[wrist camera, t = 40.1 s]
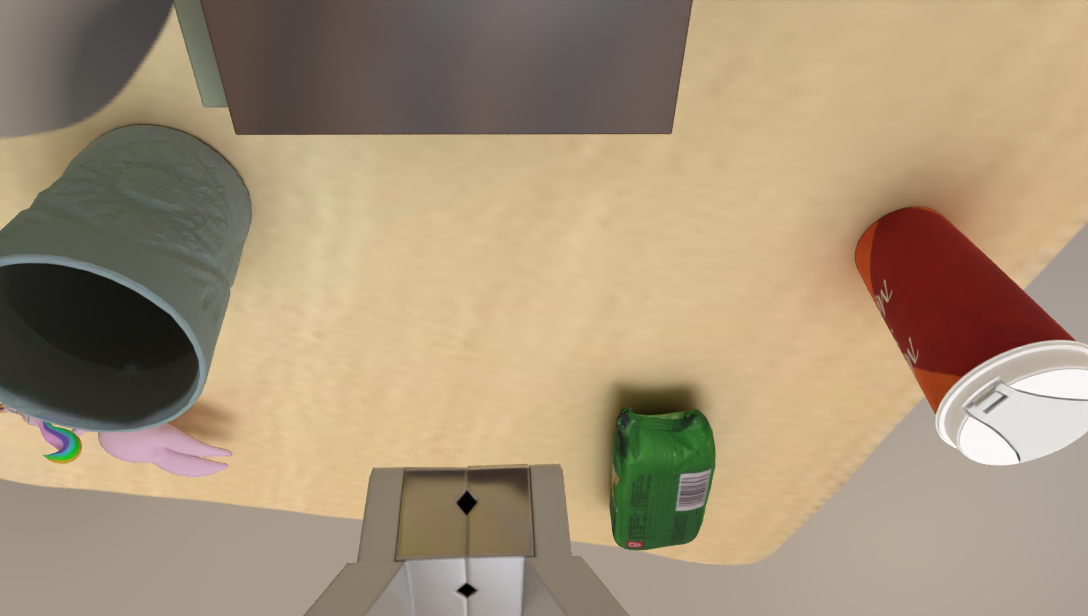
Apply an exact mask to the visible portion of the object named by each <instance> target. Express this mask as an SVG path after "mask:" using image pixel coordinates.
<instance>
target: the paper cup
mask: <svg viewBox="0 0 1088 616" xmlns="http://www.w3.org/2000/svg"><path fill="white" fill-rule="evenodd" d="M855 261H856V265H857V268H858V270H859V272H860V275H861V277H862V279H863V281H864V283H865V285H866V287H867V289H868V291H869V292H870V294H871V296H872V298H873V300H874V302H875V304H876V306H877V308H878V309H879V311H880V313H881V315H882V317H883V319H884V321H885V322H886V324H887V326H888V328H889V330H890V332H891V334H892V335H893V337H894V339H895V341H896V343H897V345H898V347H899V348H900V350H901V352H902V354H903V356H904V358H905V359H906V361H907V363H908V365H909V367H910V369H911V370H912V372H913V374H914V376H915V378H916V380H917V381H918V383H919V385H920V387H921V389H922V391H923V393H924V394H925V396H926V398H927V400H928V402H929V404H930V405H931V407H932V409H933V411H934V413H935V415H936V417H935V426H936V429H937V432H938V434H939V435H940V437H941V438H942V439H943V440H944V441H945V442H946V443H948V444H949V445H951V446H953V447H955V448H957V449H959V450H960V451H961V453H963V454H964V455H965V456H967V457H968V458H970V459H972V460H974V461H976V462H979V463H983V464H988V465H1011V464H1018V463H1019V462H1020V463H1022V462H1026V461H1029V460H1033V459H1036V458H1039V457H1042V456H1045V455H1048V454H1050V453H1053V452H1055V451H1058V450H1060V449H1062V448H1063V447H1065V446H1067V445H1069V444H1071V443H1072V442H1074V441H1075V440H1077V439H1078V438H1080V437H1081V436H1082V435H1084V434H1085V433H1086V432H1088V345H1087V344H1084V343H1081V342H1077V341H1075V339H1074V338H1072V337H1071V336H1070V335H1069V334H1068V333H1067V332H1066V331H1065V330H1064V329H1063V328H1062V327H1061V326H1060V325H1059V324H1058V323H1057V322H1055V320H1054V319H1052V318H1051V317H1050V316H1049V315H1048V314H1047V313H1046V312H1045V311H1044V310H1043V309H1042V308H1041V307H1040V306H1039V305H1038V304H1037V303H1036V302H1035V301H1033V299H1031V298H1030V297H1029V296H1028V295H1027V294H1026V293H1025V292H1024V291H1023V290H1022V289H1021V288H1020V287H1019V286H1018V285H1017V284H1016V283H1015V282H1014V281H1013V280H1011V279H1010V278H1009V277H1008V276H1007V275H1006V274H1005V273H1004V272H1003V271H1002V270H1001V269H1000V268H999V267H998V266H997V265H996V264H995V263H993V262H992V261H991V260H990V259H989V258H988V257H987V256H986V255H985V254H984V253H983V252H982V251H981V250H980V249H979V248H978V247H977V246H975V245H974V244H973V243H972V242H971V241H970V240H969V239H968V238H967V237H966V236H965V235H964V234H963V233H961V232H960V231H959V230H958V229H957V228H956V227H955V226H954V225H953V224H952V223H950V222H949V221H948V220H947V219H946V218H945V217H943V216H942V215H941V214H939V213H938V212H936V211H934V210H932V209H929V208H925V207H909V208H904V209H900V210H897V211H895V212H892V213H890V214H888V215H886V216H884V217H883V218H881V219H879V220H878V221H877V222H875V223H874V224H873V225H872V226H871V227H870V228H869V229H868V230H867V231H866V232H865V233H864V235H863V236H862V238H861V239H860V241H859V243H858V245H857V248H856V252H855ZM1018 460H1019V461H1018Z"/></svg>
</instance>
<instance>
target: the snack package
mask: <svg viewBox="0 0 1088 616" xmlns="http://www.w3.org/2000/svg"><path fill="white" fill-rule="evenodd" d="M632 408H633V407H632ZM632 408H629V409H622V410H621V412H620V414H619V415H618V418H617V429H616V432H615V435H614V439H613V443H612V453H611V488H610V515H611V523H612V532H613V536H614V540H615V542H616V543H617V544H618V545H619V546H620V547H622V548H625V549H629V550H648V549H654V548H660V547H666V546H673V545H681V544H686V543H689V542H691V541H692V540H693V539H694V538H696V536H697V534H698V532H699V530H700V527H701V525H702V521H703V517H704V513H705V507H706V504H707V500H708V495H709V492H710V489H711V484H712V478H713V474H714V469H715V457H716V456H715V444H714V438H713V433H712V429H711V427H710V424H709V422H708V420H707V418H706V417H705V416H704V415H703V414H702V413H701V412H700V411H699V410H696V409H693V410H690V411H682V412H675V413H667V414H658V415H642V414H634V413H633V412H632V411H631V409H632ZM626 412H628V413H626Z"/></svg>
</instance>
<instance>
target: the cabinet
mask: <svg viewBox="0 0 1088 616" xmlns="http://www.w3.org/2000/svg"><path fill="white" fill-rule="evenodd" d="M692 1H693V0H200V2H201V6H202V9H203V13H204V17H205V21H206V24H207V28H208V32H209V36H210V39H211V43H212V47H213V51H214V55H215V58H216V62H217V66H218V70H219V73H220V77H221V81H222V85H223V88H224V92H225V96H226V100H227V104H228V107H229V111H230V115H231V119H232V122H233V126H234V130H235V133H236V134H237V135H362V134H671V133H672V128H673V122H674V116H675V109H676V103H677V97H678V90H679V84H680V77H681V71H682V65H683V58H684V52H685V46H686V39H687V33H688V27H689V20H690V14H691V7H692Z"/></svg>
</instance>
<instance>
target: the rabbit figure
mask: <svg viewBox="0 0 1088 616" xmlns="http://www.w3.org/2000/svg"><path fill="white" fill-rule="evenodd" d="M5 412H11V413H16V414H19V415H21V416H22V418H23V419H24V421H25V422H26V423H28V424H30V425H33V426H39V427H40V430H41V433H42V435H43V437H44V438H45V440H46V441H47V442H48V443H50V444H51V445H52V446H54V447H55V448H57V449H58V450H59V451H58V452H56V453H53V454H50V455H43V456H45V457H46V458H47V459H48V460H50V461H53V462H56V463H61V464H63V463H69V462H71V461H73V460H75V459H76V458H77V457H78V456H79V454H80V452H81V449H82V444H81V441H80V439H79V437H78V436H80V435H82V434H83V433H85V432H86V431H85V430H79V429H73V430H72V431H70V430H67V429H64V428H59V427H54V426H52V424H51V423H48V422H45V421H42V420H40V419H37V418H34V417H31V416H28V415H26V414H24V413H22V412H19V411H17V410H15V409H13V408H10V407H8V406H6V405H5V404H2V403H0V413H5ZM98 439H99V442H100V445H101V446H102V448H103V449H104V450H105V451H106V452H107V453H109V454H110V455H112V456H114V457H116V458H118V459H120V460H123V461H127V462H133V463H153V464H155V465H157V466H158V467H160V468H161V469H163V470H165V471H167V472H170V473H172V474H176V475H180V476H185V477H202V476H207V475H211V474H214V473H217V472H220V471H222V470H225V469H226V468H227V467H228V464H225V463H220V462H216V461H212V460H209V459H205V458H201V457H217V456H231V455H232V452H231V451H229V450H226V449H222V448H218V447H214V446H210V445H208V444H205V443H203V442H201V441H199V440H196V439H194V438H193V437H191V436H189V435H188V434H186V433H185V432H183V431H181V430H180V429H178V428H176V427H175V426H173V425H171V424H169V423H165V424H162V425H160V426H157V427H154V428H150V429H145V430H140V431H133V432H98ZM198 456H199V457H198Z"/></svg>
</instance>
